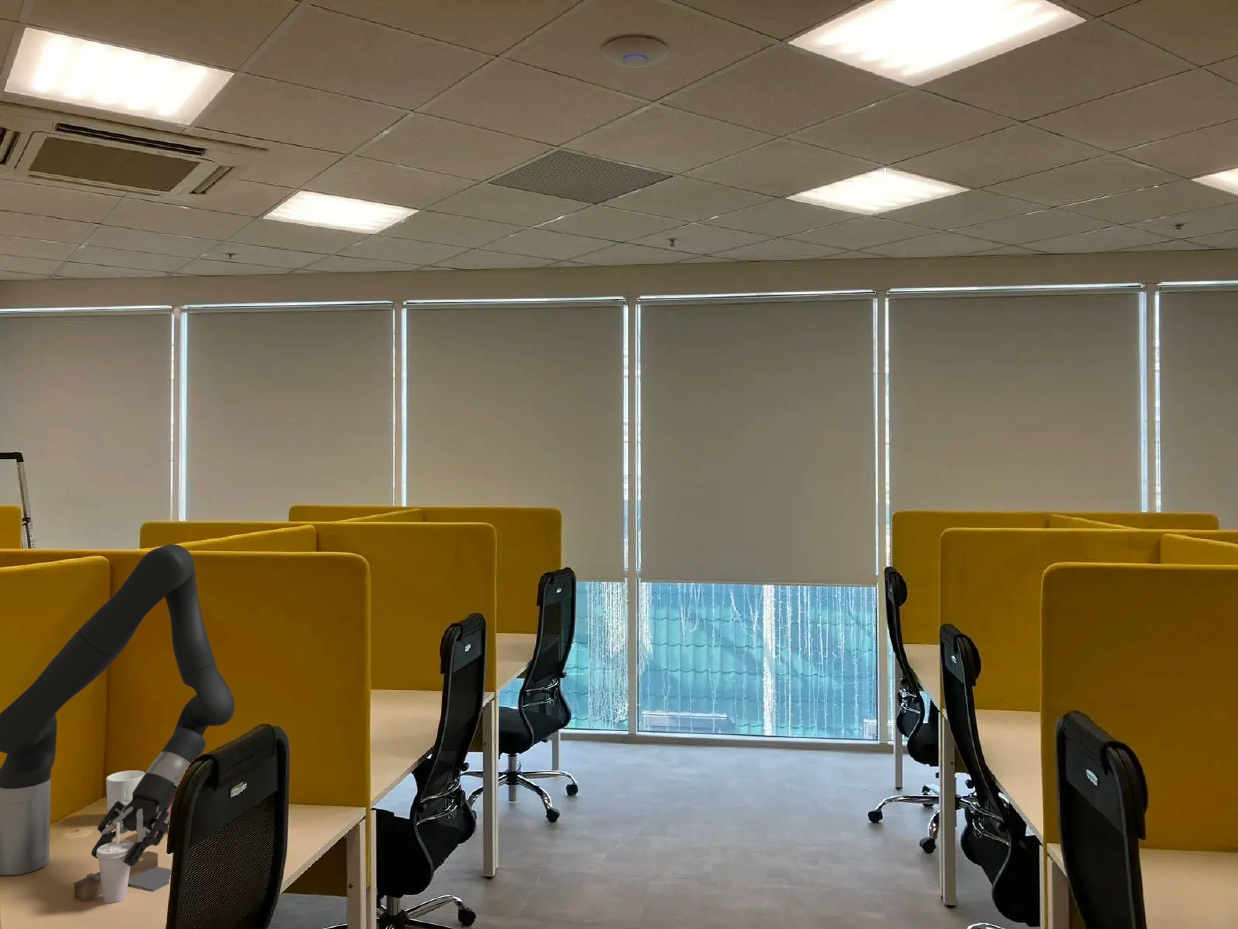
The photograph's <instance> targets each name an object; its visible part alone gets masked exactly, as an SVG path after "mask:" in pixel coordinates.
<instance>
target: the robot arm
mask: <svg viewBox="0 0 1238 929" xmlns="http://www.w3.org/2000/svg"><path fill="white" fill-rule="evenodd" d="M195 568H196V567H195V561H194V558H193V556H192V554H191V552H190V551H189V550H188V549H186V548H185V547H184V546H182V545H178V544H173V543H172V544H166V545H162V546H159V547H156V548H154V549H151V550H150V551H148V552H147V553H146V554H144V556H142V558H141V559H140V560H139V562H138V563H137V565H136V566H135V568H134V569H133V571H132V572H131V573H130V574H129V576H128V577H127V579H126V580H125V581H124V582H123V584H122V586H121V587H120V588H119V589H118V590H117V591H116V593H115V594H113V596H112V597H111V598H110V599H109V600H107V602H105V603H104V604H103V605H102V606H101V607H100V608H98V610H97V611H96V612H95V613H94V614H93V615H92V616H90V617H89V619H87V620H86V622H84V623H83V625H81V627H80V628H79V629H78V630H77V631H76V632H75V633H74V634H73V636H72V637H70V639H69V640H68V641H67V642H66V643H65V645H64V646H63V647H62V648H61V649H60V650H59V651H58V652H57V654H56V655H55V657H54V658H52V659H51V661H50V662H49V663H48V665H47V666H46V667H45V668H44V670H43V671H42V672H40V675H39V676H38V677H37V678H36V679H35V681H34V682H33V683H32V684H30V685H29V687H28V688H27V689H26V690H25V691H24V692H22V693H21V694H20V695H19V696H18V697H17V698H16V699H15V700H14V701H12V703H10V704H9V705H8V706H7V707H5V708H4V710H2V711H1V712H0V753H4V754H6V757H5V759H4V762H3V764H2V765H1V767H0V876H17V875H23V874H27V873H31V872H34V871H37V870H40V869H41V868H43V867H45V866H47V865H48V864H49V863H50V845H51V844H50V837H51V836H50V835H51V786H52V784H51V780H52V779H51V778H52V768H53V766H54V763H55V759H56V754H57V753H56V751H57V750H56V749H57V735H58V733H57V732H58V721H57V720H58V719H57V713H58V712H59V710H60V709H61V708H62V707H63V706H65V704H66V703H67V702H69V701H70V700H71V699H72V698H73V697H75V696H76V695H77V694H78V693H79V692H81V691H82V690H83V689H84V688H86V687H87V686H88V685H89V684H91V683H92V682H94V680H95V679H97V678H98V677H99V676H101V674H102V673H103V672H104V671H105V670H106V669H107V668H108V667H109V666H111V664H112V663H113V662H114V661H115V660H116V658H117V657H118V656H119V655H120V654H121V653H122V651H123V650H125V648H126V647H127V645H128V644H129V642H130V640H131V639H132V637H133V636H134V634H135V633H136V631H137V630H138V627H139V626H140V625H141V622H142V621H143V619H145V617H146V616H147V615H148V613H149V612H151V610H152V609H153V608H155V606H156V605H158V604H159V602H161V601H162V600H163V599H165V602H166V604H167V608H168V613H169V619H170V629H171V630H170V631H171V641H172V649H173V654H174V658H175V661H176V665H177V669H178V673H179V674H180V677H181V680H182V682H183V684H184V685H186V686H187V687H190V688H192V689H193V690H194V691H195V694H196V695H194V696H193V697H191V698H190V699H189V700H188V702H186V704H185V705H184V707H183V709H182V711H181V713H180V715H179V718H178V720H177V723H176V725H175V728H174V732H173V734H172V735H171V737H170V738H169V739H168V741H167V743H166V744H165V746H163V749H162V750H161V752H160V753H159V754H158V755H157V757H156V758H155V759H153V761H152V763H151V764H150V766H149V767H148V768H147V770H146V772H144V773H145V775H144V776H143V778H142V779H141V780H140V782H139V783H138V785H137V786H136V788H135V789H134V791H133V793H132V796H133V798H132V801H131V802H130V803H129V804H128V805H123V804H122V803H121V802H119V801H117V802H116V803H115V804H114V805H113V807H112V808H111V809H110V811H109V812H108V811H107V814H106V815H105V816H104V817H103V819H102V820H101V822H100V823H99V825H98V826H97V828H96V829H97V831H99V833H101V836H100V837H99V839H98V841H97V842H96V844H95V845H94V846H93V848H92V850H91V853H90V854H91V856H92V857H93V858H95V859H98V857H96V854H97V849H98V848H99V847H100V846H102V845H105V844H107V843H111V842H113V840H115V839H116V823H117V822H120V823H121V822H122V821H123V823H122V824H120V831H119V836H120V835H124V834H125V833H127V832H128V831H129V832H137V842H136V841H135V842H133V843H134V845H133V846H132V848H131V849H130V851H129V853H128V854H127V856H126V857H125V859H124V863H125V864H127V865H128V866H134V864H135V863H136V862H137V861H138V860H139V858H140V857H141V855H142V854H143V853H144V852H145V850H146V849H147V848H149V847H150V846H154V847H157V846H158V845H159V844H160V843H161V841H162V840H163V837H164V835H165V834H166V832H167V831H168V825H169V818H170V813H169V812H168V811H167V810H168V809H169V807H170V806H172V804H173V802H174V801H173V799H174V797H175V792H176V790H177V788H178V785H179V784H180V781H181V780H182V777H183V775H184V774H185V771H186V770H187V769H188V767H189V765H190V764H191V763H192V761H193V760H195V758H196V757H197V756H199V755H201V756H202V754H203V753H204V750H205V749H206V745H207V743H206V739H205V737H204V734H205V731H206V730H207V729H208V727H219V726H223V725H225V724H228V722H229V721H231V719H232V717H233V716H234V714H235V710H236V708H235V706H236V705H235V698H234V696H233V694H232V693H233V692H232V691H231V689H230V688H229V686H228V684H227V683H226V680H225V679H224V677H223V676H222V674H221V672H220V671H219V670H218V666H217V664H216V659H215V656H214V653H213V649H212V646H211V643H210V640H209V637H208V633H207V630H206V627H205V623H204V618H203V615H202V610H201V606H200V600H199V594H198V588H197V578H196V577H197V576H196V569H195ZM174 800H175V799H174ZM109 821H110V822H109ZM108 823H109V824H108ZM154 823H155V824H154ZM157 831H158V834H157V836H156V837H155V835H156V833H157ZM98 860H99V859H98ZM46 864H47V865H46Z"/></svg>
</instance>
